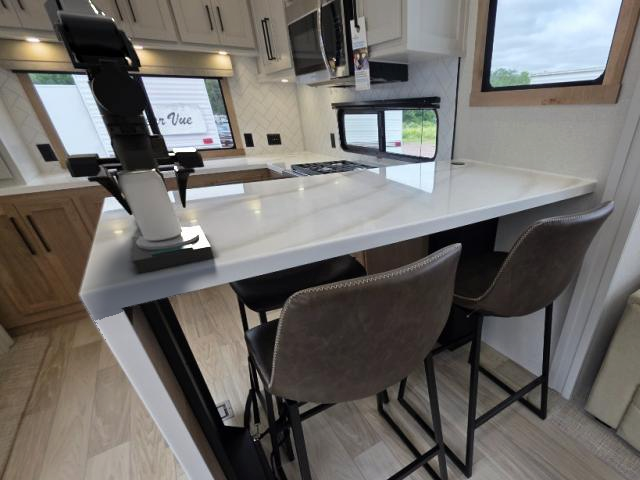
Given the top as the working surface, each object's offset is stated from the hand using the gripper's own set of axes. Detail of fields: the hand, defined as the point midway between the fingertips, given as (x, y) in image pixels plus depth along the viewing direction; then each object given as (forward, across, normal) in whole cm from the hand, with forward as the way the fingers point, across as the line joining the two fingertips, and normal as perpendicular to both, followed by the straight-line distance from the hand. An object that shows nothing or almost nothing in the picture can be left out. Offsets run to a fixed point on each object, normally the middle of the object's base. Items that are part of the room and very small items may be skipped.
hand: (158, 210), depth 62 cm
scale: (+8, 0, -1) cm, 8 cm away
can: (+5, 0, 0) cm, 5 cm away
